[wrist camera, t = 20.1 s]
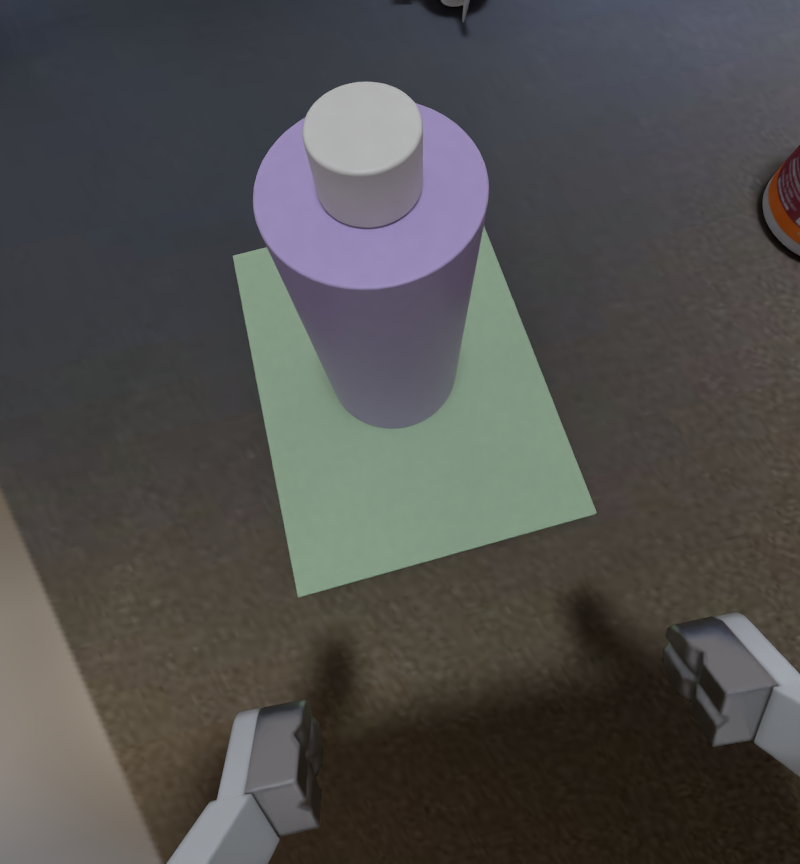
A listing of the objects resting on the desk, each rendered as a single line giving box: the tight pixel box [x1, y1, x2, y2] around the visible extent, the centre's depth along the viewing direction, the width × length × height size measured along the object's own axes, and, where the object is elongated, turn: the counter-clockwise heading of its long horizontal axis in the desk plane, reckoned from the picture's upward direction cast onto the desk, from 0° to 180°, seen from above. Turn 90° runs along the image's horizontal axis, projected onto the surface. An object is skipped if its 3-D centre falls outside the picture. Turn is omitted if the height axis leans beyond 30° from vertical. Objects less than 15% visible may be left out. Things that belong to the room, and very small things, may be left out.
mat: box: [233, 227, 597, 597], centre depth 20 cm, size 16×12×1 cm
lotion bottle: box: [253, 82, 489, 428], centre depth 15 cm, size 5×5×12 cm
